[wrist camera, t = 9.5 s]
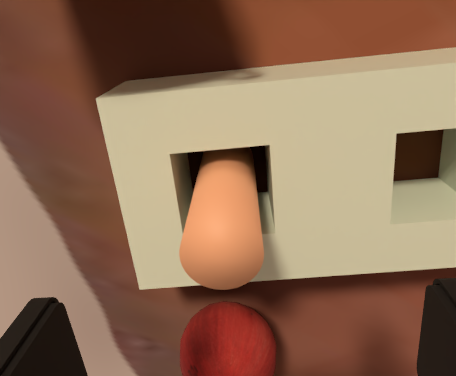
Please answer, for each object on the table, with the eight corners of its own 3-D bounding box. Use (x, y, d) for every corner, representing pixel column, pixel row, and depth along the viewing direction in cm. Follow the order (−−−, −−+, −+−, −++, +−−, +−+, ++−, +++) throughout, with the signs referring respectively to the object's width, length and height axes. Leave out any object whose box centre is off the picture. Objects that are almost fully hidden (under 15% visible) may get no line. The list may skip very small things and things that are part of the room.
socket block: (508, 42, 20) (587, 49, 16) (479, 215, 24) (535, 261, 20) (125, 80, 22) (95, 98, 17) (157, 240, 25) (139, 289, 21)
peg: (251, 133, 23) (261, 214, 13) (255, 182, 24) (266, 287, 15) (198, 138, 23) (173, 221, 14) (205, 186, 24) (185, 292, 15)
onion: (227, 354, 29) (224, 467, 22) (169, 309, 28) (145, 415, 20) (287, 311, 28) (306, 418, 20) (229, 260, 26) (226, 357, 19)
